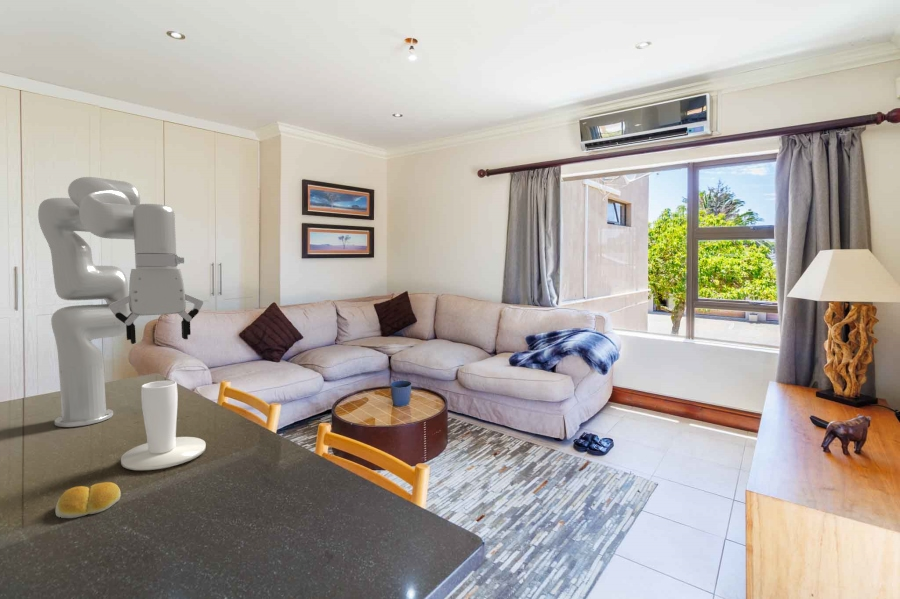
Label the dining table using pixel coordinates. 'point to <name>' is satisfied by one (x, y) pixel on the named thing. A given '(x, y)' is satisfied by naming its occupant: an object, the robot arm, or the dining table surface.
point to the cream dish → (163, 455)
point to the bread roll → (87, 500)
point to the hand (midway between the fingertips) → (159, 340)
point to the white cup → (160, 415)
